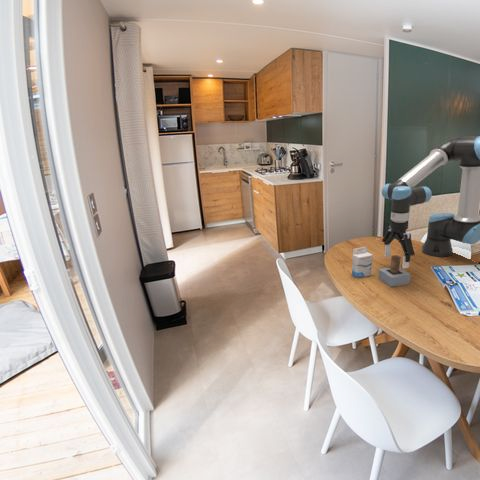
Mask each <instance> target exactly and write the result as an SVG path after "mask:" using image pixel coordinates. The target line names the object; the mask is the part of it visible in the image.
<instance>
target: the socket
mask: <svg viewBox="0 0 480 480" xmlns="http://www.w3.org/2000/svg"><path fill="white" fill-rule="evenodd" d="M378 279H379V280H380V281H382V282H383V283H384V284H386V285H387V286H389V287H390V288H392V287H393V288H394V287H400V286H404V285H409V284H410V283H411V274H410V273H409V272H407V271H406V270H404V269H403V268H401V267H400V268H399V274H396V275H392V274H391V273H390V267H384V268H379V269H378Z"/></svg>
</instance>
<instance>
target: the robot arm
mask: <svg viewBox="0 0 480 480" xmlns="http://www.w3.org/2000/svg"><path fill="white" fill-rule="evenodd" d="M449 162H459V165H458V166H459V167H460V169H461V170H462V171H461V180H460V182H461V183H460V188H459V196H458V197H459V198H458V206H457V214H456V215H455V214H454V213H453V212H452V213H451V212H439V213H437V212H436V213H433V214H431V215H430V216H429V220H428V225H427V233H426V239H425V240H424V243H423V245H422V247H421V252H422V253H423V254H426V255H429V256H432V257H439V258H440V257H443V258H445V257H449V256H452V255H453V252H454V251H453V246H452V242H451V240H453V241H457V242H460V243H462V244H468V245H475V244H477V243H478V242H479V241H480V215H479V210H480V135H479V136H478V135H477V136H476V135H475V136H474V135H473V136H457V137H453V138H449V139H448V140H446V141H444V142H442V143H440V144H439V145H437V146H436V147H434V148H433V149H432V150H430V152H429V154H428V155H427V156H426V157H425V158H424V159H422V160H421V161H419V163H417V165H415V166H414V167H413V168H411V169H410V170H408V172H405V174H404V175H402V176H400V178H399V179H398V180H396V181H395V182H394V183H386V184H384V185H383V187H382V188H381V196H382V197H383V198H384V199H388V200H391V209H390V221H389V226H387V227H386V231H385V233H384V235H383V238H382V239H381V242H382V243H383V244H384V258H388V257H391V248H392V242H393V241H394V240H395V239H396V240H397V241H398V243H399V244H400V246H401V248H402V251H403V256H402V268H401V269H407V268H410V267H409V266H410V262H411V257H412V256H415V250H414V245H413V242H412V235H411V233H407V230H408V229H409V221H410V212H411V211H410V210H411V209H410V208H411V207H413V206H415V205H421V204H424V203H427V202H430V200H431V199H432V195H433V194H432V190H431V189H430V188H429V186H418V187H416V185H418V184H419V183H420V182H421V181H423V180H424V179H425V178H426V177H428V176H429V175H431V174H432V173H433V172H434V171H436V169H438V168H439V167H440V166H445V165H446V164H447V163H449Z"/></svg>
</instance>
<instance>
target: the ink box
mask: <svg viewBox="0 0 480 480" xmlns="http://www.w3.org/2000/svg"><path fill="white" fill-rule="evenodd" d="M373 257H374V255H373V254H372V253H370V252H368V246H362V247H357V248H356V247H355V248H353V250H352V266H351V275H352V276H353V277H355V278H357V279H358V278H363V277H369V276H372V269H373Z"/></svg>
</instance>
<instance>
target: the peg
mask: <svg viewBox="0 0 480 480" xmlns="http://www.w3.org/2000/svg"><path fill="white" fill-rule="evenodd" d="M390 257H391V258H390V265H389V266H390V273H391V274H392V275H396V274H399V268H401V267H400V266H401V258H402V257H401V256H400V255H396V254H394V255H393V254H392V255H390Z"/></svg>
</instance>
